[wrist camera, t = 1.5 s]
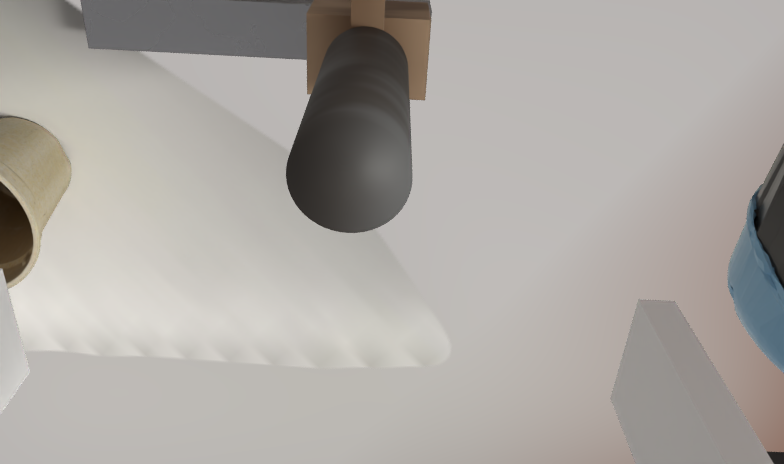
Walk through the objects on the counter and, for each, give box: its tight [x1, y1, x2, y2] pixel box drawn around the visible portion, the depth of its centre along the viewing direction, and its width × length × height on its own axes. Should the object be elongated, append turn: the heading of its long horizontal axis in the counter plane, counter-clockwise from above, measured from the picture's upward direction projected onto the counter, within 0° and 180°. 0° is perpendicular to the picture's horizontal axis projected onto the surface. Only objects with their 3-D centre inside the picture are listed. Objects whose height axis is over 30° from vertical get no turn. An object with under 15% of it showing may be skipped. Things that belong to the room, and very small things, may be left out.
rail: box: [81, 0, 432, 60], centre depth 39 cm, size 19×3×3 cm, turn 87°
